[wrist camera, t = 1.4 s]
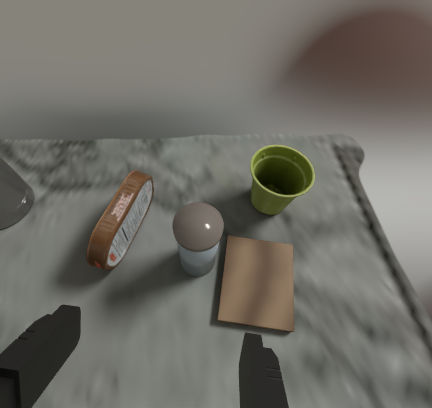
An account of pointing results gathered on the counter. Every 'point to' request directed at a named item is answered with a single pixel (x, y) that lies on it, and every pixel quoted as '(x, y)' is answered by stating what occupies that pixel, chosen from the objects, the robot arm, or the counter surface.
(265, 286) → the tan board
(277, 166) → the plant pot
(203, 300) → the counter surface
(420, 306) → the counter surface
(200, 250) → the blue jar
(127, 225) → the tin
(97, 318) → the counter surface
